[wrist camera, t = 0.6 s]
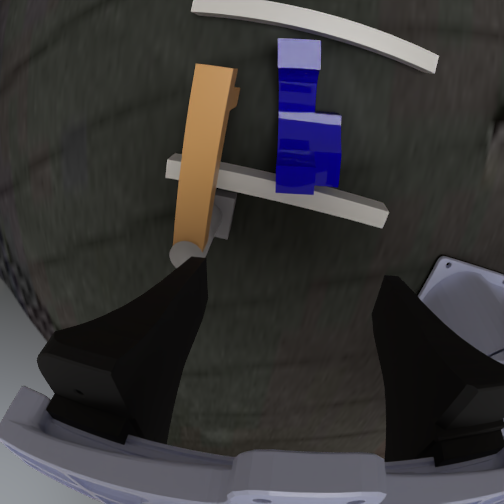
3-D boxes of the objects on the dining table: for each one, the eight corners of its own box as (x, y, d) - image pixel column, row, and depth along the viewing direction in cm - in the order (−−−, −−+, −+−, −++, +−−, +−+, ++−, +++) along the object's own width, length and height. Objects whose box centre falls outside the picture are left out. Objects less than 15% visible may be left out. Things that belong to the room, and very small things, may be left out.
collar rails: (429, 56, 14) (438, 55, 13) (358, 262, 23) (362, 274, 21) (201, -2, 14) (195, -7, 13) (168, 218, 22) (161, 228, 21)
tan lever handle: (219, 230, 21) (200, 275, 17) (193, 224, 21) (168, 268, 17) (249, 70, 16) (234, 68, 11) (218, 65, 16) (192, 63, 11)
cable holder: (332, 174, 20) (341, 197, 16) (278, 170, 20) (275, 193, 17) (340, 49, 16) (352, 43, 12) (280, 45, 16) (277, 38, 12)
